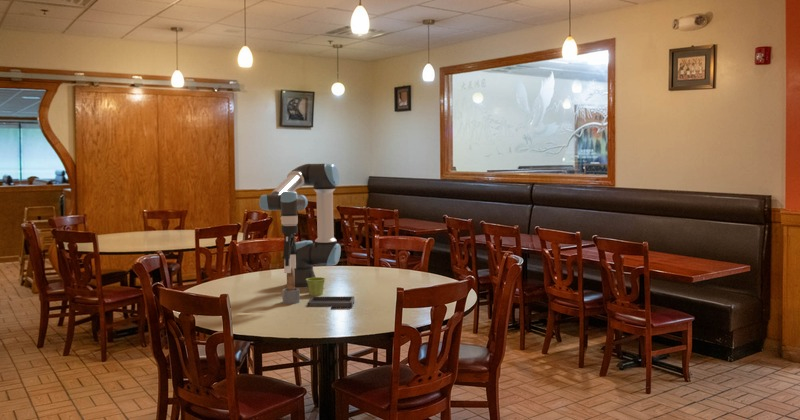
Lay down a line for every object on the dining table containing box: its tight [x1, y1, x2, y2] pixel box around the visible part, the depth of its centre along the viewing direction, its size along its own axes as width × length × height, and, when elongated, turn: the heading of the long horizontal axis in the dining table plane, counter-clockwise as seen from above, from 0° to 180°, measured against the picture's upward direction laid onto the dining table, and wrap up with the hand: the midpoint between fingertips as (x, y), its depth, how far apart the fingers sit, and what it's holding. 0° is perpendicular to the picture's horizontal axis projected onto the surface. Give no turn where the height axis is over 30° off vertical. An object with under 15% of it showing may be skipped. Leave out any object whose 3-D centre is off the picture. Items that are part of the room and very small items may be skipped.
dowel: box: [286, 267, 296, 291], centre depth 314 cm, size 4×4×16 cm
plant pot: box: [306, 276, 326, 297], centre depth 332 cm, size 9×9×9 cm
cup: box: [281, 287, 301, 305], centre depth 314 cm, size 8×8×7 cm
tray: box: [307, 295, 355, 309], centre depth 312 cm, size 14×20×2 cm
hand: (290, 270), depth 313 cm, fingers open, 13 cm apart
